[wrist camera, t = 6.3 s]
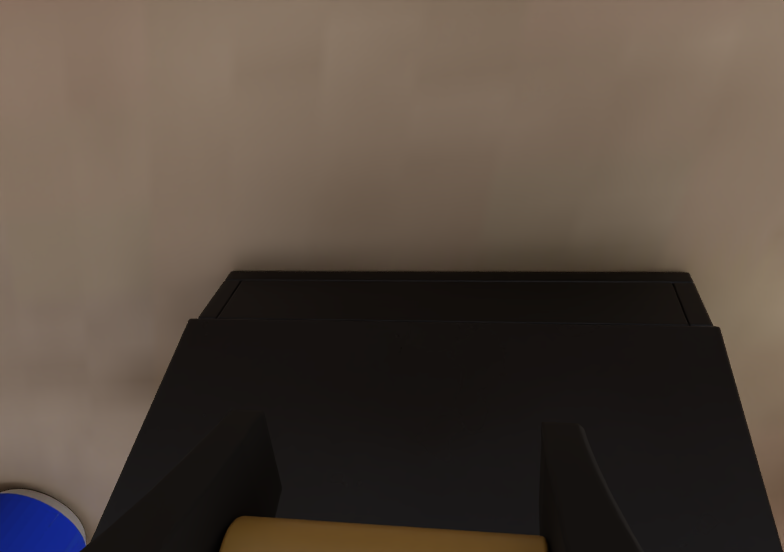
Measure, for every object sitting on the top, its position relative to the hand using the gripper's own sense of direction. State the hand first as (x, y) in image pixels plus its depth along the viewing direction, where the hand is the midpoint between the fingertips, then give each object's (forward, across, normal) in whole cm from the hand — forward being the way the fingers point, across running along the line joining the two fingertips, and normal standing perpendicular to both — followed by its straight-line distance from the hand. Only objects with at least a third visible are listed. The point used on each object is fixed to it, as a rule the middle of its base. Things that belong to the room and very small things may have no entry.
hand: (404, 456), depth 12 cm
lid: (+2, 0, +3) cm, 3 cm away
